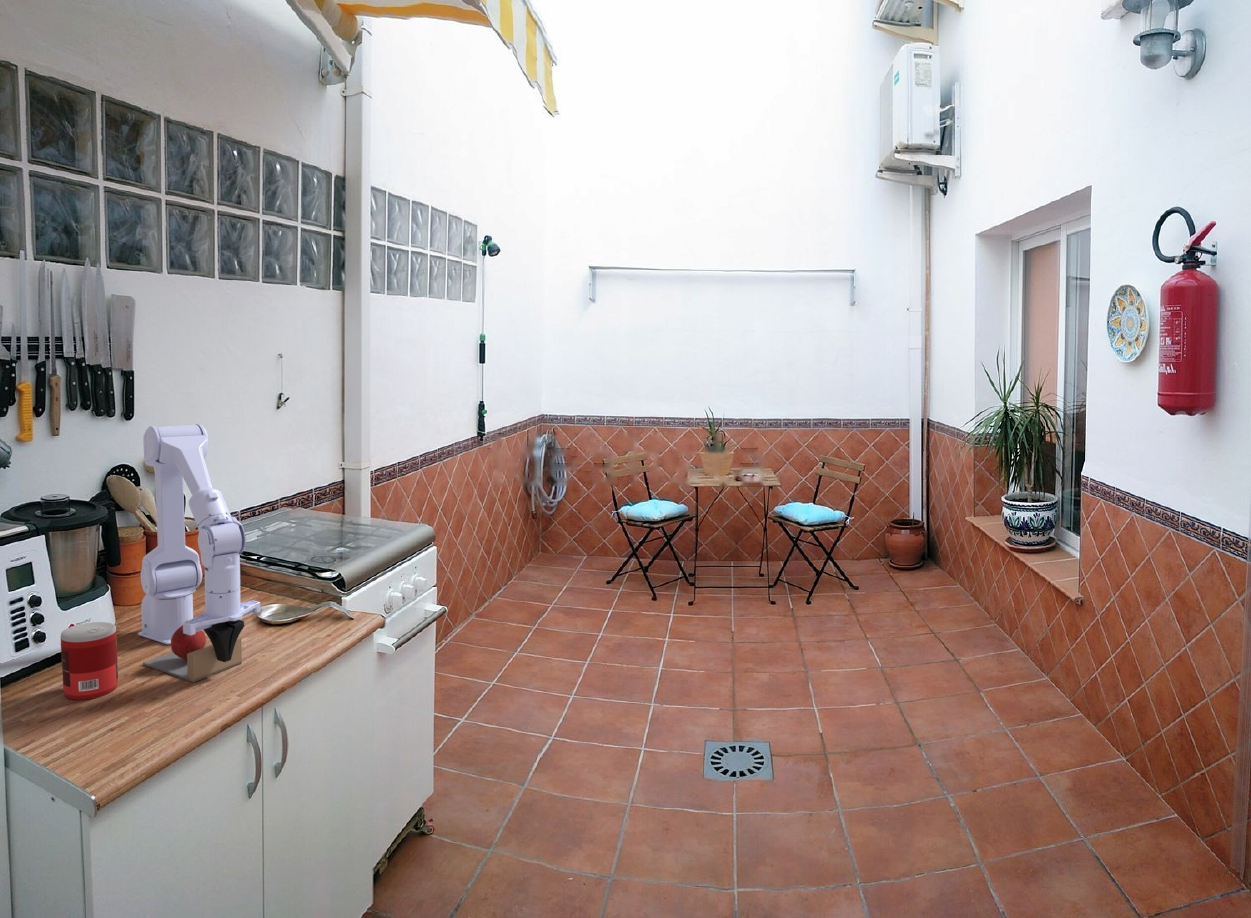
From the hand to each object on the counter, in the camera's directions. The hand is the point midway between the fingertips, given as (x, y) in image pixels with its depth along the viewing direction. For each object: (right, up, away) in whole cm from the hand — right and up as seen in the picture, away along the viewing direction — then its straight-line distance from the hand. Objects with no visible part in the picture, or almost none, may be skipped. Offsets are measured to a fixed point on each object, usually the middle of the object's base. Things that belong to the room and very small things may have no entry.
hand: (224, 659), depth 148 cm
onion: (-9, -1, +4) cm, 10 cm away
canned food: (-19, -3, -8) cm, 21 cm away
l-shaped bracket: (-8, -2, +4) cm, 9 cm away
